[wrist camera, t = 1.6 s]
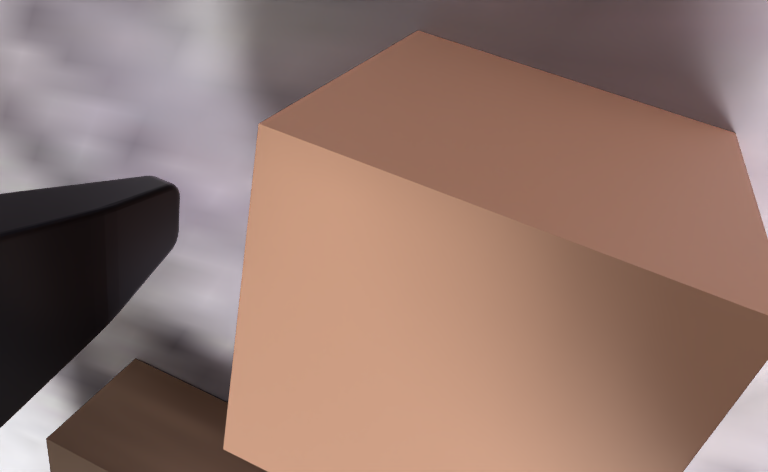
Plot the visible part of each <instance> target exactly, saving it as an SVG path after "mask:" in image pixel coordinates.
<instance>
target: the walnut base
mask: <svg viewBox="0 0 768 472" xmlns="http://www.w3.org/2000/svg"><path fill="white" fill-rule="evenodd" d="M227 409H228V403H227V402H225V401H223V400H220V399H218V398H216V397H214V396H212V395H210V394H208V393H206V392H204V391H202V390H200V389H198V388H196V387H193V386H191V385H189V384H187V383H185V382H183V381H181V380H179V379H177V378H175V377H173V376H171V375H169V374H166V373H164V372H162V371H160V370H158V369H156V368H154V367H152V366H150V365H148V364H146V363H144V362H142V361H140V360H137V359H134V360H133V361H132V362H131V363H130V364H129V365H128V366H127V367H125V368H124V369H123V370H122V371H121V372H120V373H119V374H118V375H117V376H115V377H114V378H113V379H112V380H111V381H110V382H109V383H108V384H107V385H105V386H104V387H103V388H102V389H101V390H100V391H99V392H98V393H97V394H95V395H94V396H93V397H92V398H91V399H90V400H89V401H88V402H87V403H85V404H84V405H83V406H82V407H81V408H80V409H79V410H78V411H77V412H75V413H74V414H73V415H72V416H71V417H70V418H69V419H68V420H66V421H65V422H64V423H63V424H62V425H61V426H60V427H59V428H58V429H56V430H55V431H54V432H53V433H52V434H51V435H50V436H49V437H48V438H46V440H47V448H48V456H49V463H50V471H51V472H268V471H266V470H264V469H262V468H260V467H258V466H256V465H254V464H252V463H250V462H248V461H246V460H244V459H242V458H240V457H238V456H236V455H234V454H232V453H230V452H228V451H226V450H224V449H223V446H224V437H225V427H226V418H227Z"/></svg>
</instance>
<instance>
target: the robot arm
mask: <svg viewBox="0 0 768 472" xmlns="http://www.w3.org/2000/svg"><path fill="white" fill-rule="evenodd" d="M179 205H180V193H179V190H178V188H177V187H176V186H175V185H174V184H172V183H169V182H167V181H165V180H162V179H160V178H157V177H154V176H142V177H134V178H126V179H118V180H110V181H101V182H93V183H85V184H77V185H69V186H60V187H52V188H44V189H36V190H28V191H20V192H11V193H3V194H0V428H1V427H2V426H3V425H4V424H5V423H6V422H7V421H8V420H9V419H10V418H11V417H12V416H13V415H14V414H15V413H16V412H18V411H19V410H20V409H21V408H22V407H23V406H24V405H25V404H26V403H27V402H28V401H29V400H30V399H31V398H32V397H33V396H34V395H35V394H36V393H37V392H38V391H39V390H40V389H42V388H43V387H44V386H45V385H46V384H47V383H48V382H49V381H50V380H51V379H52V378H53V377H54V376H55V375H56V374H57V373H58V372H59V371H60V370H61V369H62V368H63V367H65V366H66V365H67V364H68V363H69V362H70V361H71V360H72V359H73V358H74V357H75V356H76V355H77V354H78V353H79V352H80V351H81V350H82V349H83V348H84V347H85V346H86V345H88V344H89V343H90V342H91V341H92V340H93V339H94V338H95V337H96V336H97V335H98V334H99V333H100V332H101V331H102V330H103V329H104V328H105V327H106V326H107V325H108V324H109V323H110V322H111V321H112V319H113V318H114V317H115V316H116V315H117V314H118V313H119V312H120V311H121V309H122V308H123V307H124V306H125V305H126V303H127V302H128V301H129V300H130V299H131V297H132V296H133V295H134V294H135V293H136V292H137V290H138V289H139V288H140V287H141V286H142V284H143V283H144V282H145V281H146V280H147V279H148V277H149V276H150V275H151V274H152V273H153V271H154V270H155V269H156V268H157V267H158V265H159V264H160V263H161V262H162V261H163V260H164V258H165V257H166V256H167V255H168V254H169V252H170V251H171V250H172V248H173V247H174V245H175V243H176V241H177V238H178V232H179Z"/></svg>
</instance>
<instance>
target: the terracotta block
mask: <svg viewBox="0 0 768 472" xmlns="http://www.w3.org/2000/svg"><path fill="white" fill-rule="evenodd" d="M767 360H768V239H767V235H766V232H765V229H764V225H763V222H762V219H761V216H760V212H759V209H758V206H757V202H756V199H755V196H754V193H753V189H752V186H751V183H750V179H749V176H748V173H747V170H746V166H745V163H744V160H743V156H742V153H741V150H740V146H739V143H738V140H737V137H736V133H734V132H731V131H728V130H724V129H721V128H718V127H715V126H712V125H709V124H706V123H703V122H700V121H697V120H694V119H690V118H687V117H684V116H681V115H678V114H675V113H672V112H669V111H666V110H663V109H660V108H656V107H653V106H650V105H647V104H644V103H641V102H638V101H635V100H632V99H629V98H626V97H622V96H619V95H616V94H613V93H610V92H607V91H604V90H601V89H598V88H595V87H592V86H588V85H585V84H582V83H579V82H576V81H573V80H570V79H567V78H564V77H561V76H558V75H554V74H551V73H548V72H545V71H542V70H539V69H536V68H533V67H530V66H527V65H524V64H520V63H517V62H514V61H511V60H508V59H505V58H502V57H499V56H496V55H493V54H490V53H486V52H483V51H480V50H477V49H474V48H471V47H468V46H465V45H462V44H459V43H456V42H452V41H449V40H446V39H443V38H440V37H437V36H434V35H431V34H428V33H425V32H422V31H416V32H414V33H412V34H411V35H409V36H407V37H406V38H404V39H402V40H401V41H399V42H397V43H395V44H394V45H392V46H390V47H389V48H387V49H385V50H383V51H382V52H380V53H378V54H377V55H375V56H373V57H372V58H370V59H368V60H366V61H365V62H363V63H361V64H360V65H358V66H356V67H355V68H353V69H351V70H349V71H348V72H346V73H344V74H343V75H341V76H339V77H337V78H336V79H334V80H332V81H331V82H329V83H327V84H326V85H324V86H322V87H320V88H319V89H317V90H315V91H314V92H312V93H310V94H308V95H307V96H305V97H303V98H302V99H300V100H298V101H297V102H295V103H293V104H291V105H290V106H288V107H286V108H285V109H283V110H281V111H279V112H278V113H276V114H274V115H273V116H271V117H269V118H268V119H266V120H264V121H262V122H261V123H259V125H258V134H257V144H256V153H255V162H254V171H253V180H252V189H251V198H250V208H249V217H248V226H247V235H246V244H245V253H244V263H243V272H242V281H241V290H240V299H239V308H238V318H237V327H236V336H235V345H234V354H233V363H232V372H231V382H230V391H229V400H228V409H227V418H226V427H225V437H224V446H223V449H224V450H226V451H228V452H230V453H232V454H234V455H236V456H238V457H240V458H242V459H244V460H246V461H248V462H250V463H252V464H254V465H256V466H258V467H260V468H262V469H264V470H266V471H268V472H683V471H684V470H685V469H686V467H687V466H688V465H689V463H690V462H691V461H692V459H693V458H694V457H695V455H696V454H697V453H698V451H699V450H700V449H701V447H702V446H703V445H704V443H705V442H706V441H707V439H708V438H709V437H710V435H711V434H712V433H713V431H714V430H715V429H716V428H717V426H718V425H719V424H720V422H721V421H722V420H723V418H724V417H725V416H726V414H727V413H728V412H729V410H730V409H731V408H732V406H733V405H734V404H735V402H736V401H737V400H738V398H739V397H740V396H741V394H742V393H743V392H744V390H745V389H746V388H747V386H748V385H749V384H750V383H751V381H752V380H753V379H754V377H755V376H756V375H757V373H758V372H759V371H760V369H761V368H762V367H763V365H764V364H765V363H766V361H767Z"/></svg>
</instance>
